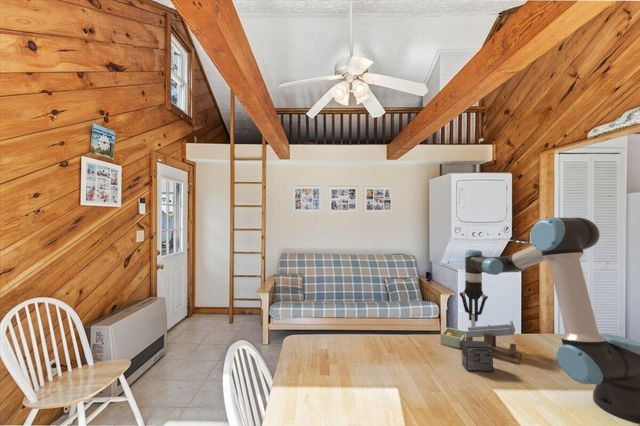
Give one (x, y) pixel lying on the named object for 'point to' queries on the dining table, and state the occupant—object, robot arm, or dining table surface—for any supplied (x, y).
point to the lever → (491, 330)
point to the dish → (452, 338)
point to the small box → (477, 356)
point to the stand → (500, 349)
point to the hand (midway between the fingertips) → (473, 327)
